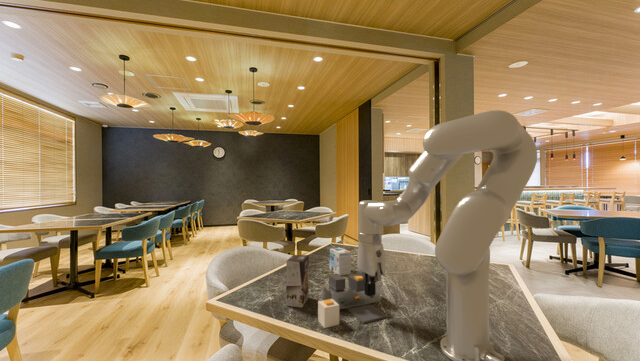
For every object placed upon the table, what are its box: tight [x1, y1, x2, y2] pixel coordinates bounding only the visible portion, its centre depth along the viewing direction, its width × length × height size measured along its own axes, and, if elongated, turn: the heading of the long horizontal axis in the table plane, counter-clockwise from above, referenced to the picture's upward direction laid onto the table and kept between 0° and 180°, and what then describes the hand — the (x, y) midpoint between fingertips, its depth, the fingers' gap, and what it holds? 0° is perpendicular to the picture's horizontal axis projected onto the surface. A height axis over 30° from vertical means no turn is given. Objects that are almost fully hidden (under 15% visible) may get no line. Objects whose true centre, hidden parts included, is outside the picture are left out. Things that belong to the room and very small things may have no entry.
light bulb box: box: [329, 247, 352, 276], centre depth 132 cm, size 11×7×11 cm, turn 25°
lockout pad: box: [348, 304, 388, 324], centre depth 88 cm, size 9×9×1 cm
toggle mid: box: [347, 274, 365, 292], centre depth 94 cm, size 6×4×4 cm, turn 23°
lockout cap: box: [317, 299, 340, 329], centre depth 83 cm, size 5×5×7 cm
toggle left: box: [328, 273, 346, 291], centre depth 96 cm, size 6×4×4 cm, turn 23°
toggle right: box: [356, 269, 363, 277], centre depth 100 cm, size 6×4×4 cm, turn 23°
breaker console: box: [321, 280, 381, 311], centre depth 98 cm, size 8×20×6 cm, turn 113°
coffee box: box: [285, 254, 310, 308], centre depth 98 cm, size 9×6×16 cm
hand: (370, 294), depth 87 cm, fingers closed
